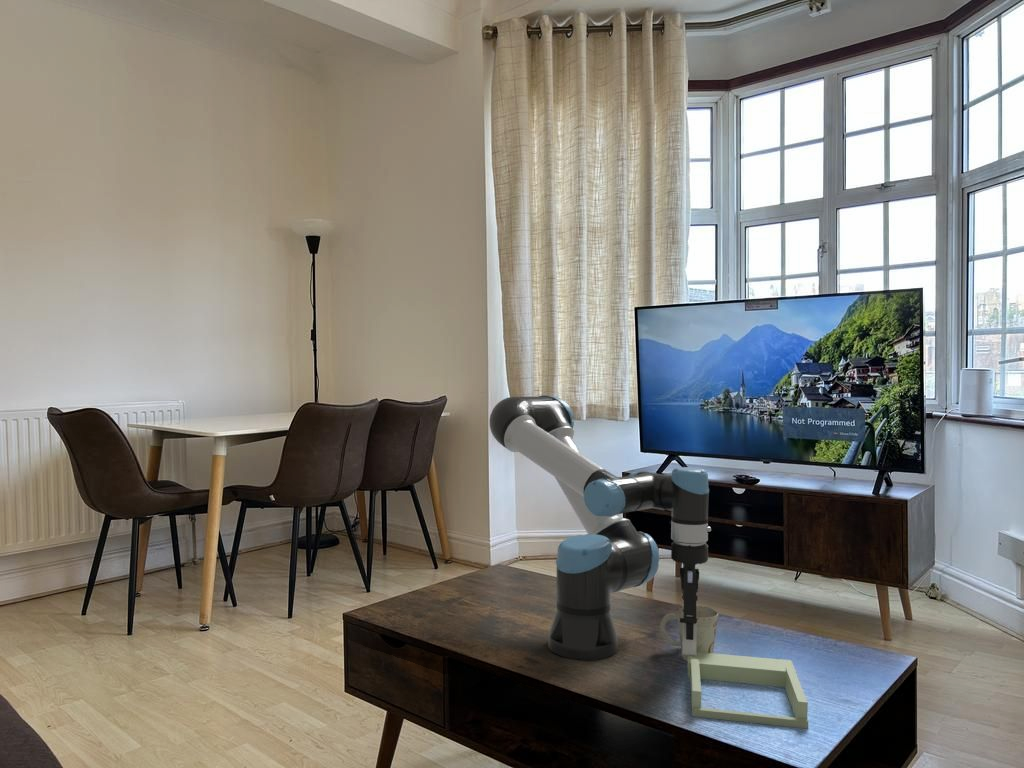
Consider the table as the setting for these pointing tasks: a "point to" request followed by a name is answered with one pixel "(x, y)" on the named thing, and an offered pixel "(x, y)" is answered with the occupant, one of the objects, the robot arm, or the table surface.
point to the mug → (705, 628)
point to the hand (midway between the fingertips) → (688, 643)
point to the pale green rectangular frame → (752, 673)
